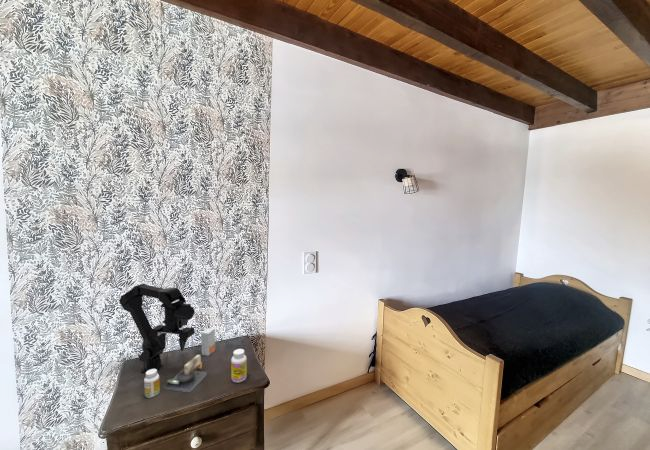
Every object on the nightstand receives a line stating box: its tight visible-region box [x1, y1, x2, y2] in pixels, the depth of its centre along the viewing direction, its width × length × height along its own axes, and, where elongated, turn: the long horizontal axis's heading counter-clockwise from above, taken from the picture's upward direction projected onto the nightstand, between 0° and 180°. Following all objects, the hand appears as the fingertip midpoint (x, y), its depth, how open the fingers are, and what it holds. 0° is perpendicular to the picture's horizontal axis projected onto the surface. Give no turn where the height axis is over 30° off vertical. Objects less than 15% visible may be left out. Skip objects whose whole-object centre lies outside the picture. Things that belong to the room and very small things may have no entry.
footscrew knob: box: [176, 354, 202, 384], centre depth 125 cm, size 12×7×6 cm, turn 168°
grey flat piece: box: [163, 360, 208, 393], centre depth 125 cm, size 12×17×4 cm
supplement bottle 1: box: [143, 369, 161, 399], centre depth 115 cm, size 5×5×10 cm
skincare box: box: [200, 327, 216, 356], centre depth 147 cm, size 6×4×12 cm
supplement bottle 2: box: [230, 348, 248, 384], centre depth 125 cm, size 7×7×13 cm
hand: (173, 349), depth 127 cm, fingers open, 9 cm apart
